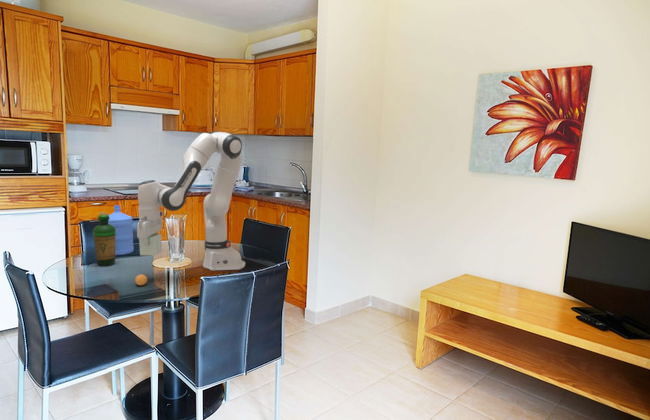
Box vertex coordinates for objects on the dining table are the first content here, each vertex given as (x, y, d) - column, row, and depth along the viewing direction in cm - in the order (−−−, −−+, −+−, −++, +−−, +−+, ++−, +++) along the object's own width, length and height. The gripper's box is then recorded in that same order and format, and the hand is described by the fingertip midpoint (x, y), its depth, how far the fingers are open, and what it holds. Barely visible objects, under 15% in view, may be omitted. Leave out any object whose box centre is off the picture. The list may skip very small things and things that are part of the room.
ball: (148, 283, 193) (148, 273, 192) (144, 287, 188) (144, 276, 187) (138, 283, 192) (137, 272, 192) (133, 286, 188) (133, 276, 187)
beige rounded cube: (162, 251, 200) (161, 233, 198) (155, 255, 192) (155, 237, 191) (146, 251, 200) (145, 233, 198) (140, 255, 192) (139, 236, 191)
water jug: (138, 252, 244) (136, 206, 239) (110, 257, 232) (108, 208, 228) (127, 247, 254) (125, 202, 250) (99, 252, 242) (97, 205, 238)
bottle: (101, 268, 212) (98, 215, 208) (90, 264, 218) (87, 212, 213) (121, 263, 221) (119, 212, 217) (110, 260, 227) (107, 210, 222)
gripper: (146, 219, 183) (148, 249, 185) (164, 211, 203) (165, 239, 205) (132, 219, 183) (134, 249, 185) (151, 211, 203) (152, 238, 205)
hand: (150, 243), depth 195 cm, fingers closed on beige rounded cube, 7 cm apart
